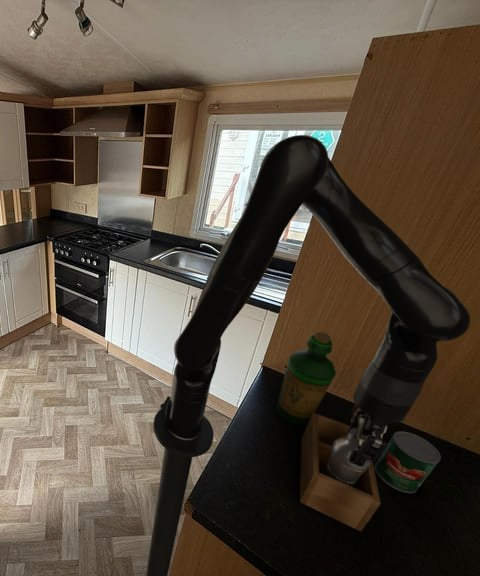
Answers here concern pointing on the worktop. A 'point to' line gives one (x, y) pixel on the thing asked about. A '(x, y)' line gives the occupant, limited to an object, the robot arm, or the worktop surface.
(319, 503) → the bottle rack
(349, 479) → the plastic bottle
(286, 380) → the bottle
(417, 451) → the canned tomato
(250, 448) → the worktop surface
